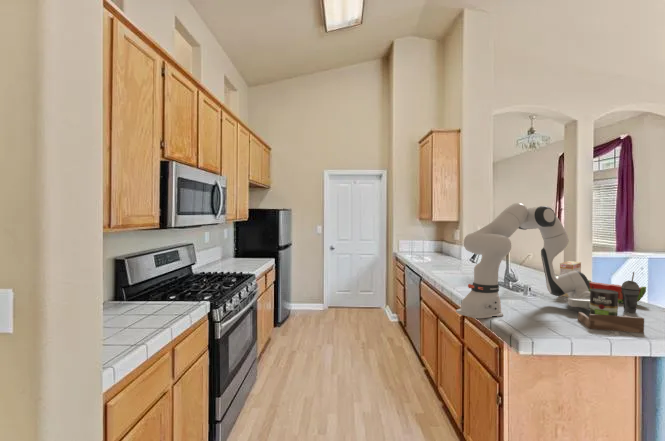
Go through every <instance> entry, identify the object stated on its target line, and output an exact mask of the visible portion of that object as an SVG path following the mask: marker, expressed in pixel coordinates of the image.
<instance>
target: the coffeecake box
mask: <svg viewBox="0 0 665 441" xmlns="http://www.w3.org/2000/svg"><path fill="white" fill-rule="evenodd" d="M575 270H577V271H579V272H581V273H582V262H581V261H575V260H574V261H573V260H568V261H564V262H560V263H559V275H562V274H565V273H568V272H571V271H575ZM565 296H566V297H565ZM560 297H565V298H568V297H569V296H568V293H566V294H564V295H561V296H560Z"/></svg>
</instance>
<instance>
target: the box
mask: <svg viewBox="0 0 665 441" xmlns="http://www.w3.org/2000/svg"><path fill="white" fill-rule="evenodd" d="M577 312H578V314H577V320H578V321H579V322H581V323H582V324H583V325H585V326H586V327H587V328H589V330H600V331H612V332H613V331H614V332H626V333H638V334H639V333H641V334H644V333H645V318H644V317H641V316H640V317H639V316H629V315H628V314H623V315H617V316H613V315H599V314H590V313H589V314H588V315H587V314H585V313H584V312H582V311H577Z"/></svg>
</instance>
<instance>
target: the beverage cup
mask: <svg viewBox="0 0 665 441" xmlns="http://www.w3.org/2000/svg"><path fill="white" fill-rule="evenodd" d="M634 277H635V271H633V272H632V276H631V280H626V281H624V282H622V284H621V286H622V287H621V289H622V295H623V303H622V304H623V305H622V306H623V307H622V308H623V312H625V313H627V312H629V313H628V314H636V313H637V307H638V302H637V300H638V294H639V290H640V289H639V287H640V286H639V284H638V283H637V282H635V281H634Z"/></svg>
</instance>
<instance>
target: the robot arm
mask: <svg viewBox="0 0 665 441" xmlns="http://www.w3.org/2000/svg"><path fill="white" fill-rule="evenodd" d="M518 229H519V230H523V231H526V230H536V229H538V230H539V233H540V235H541V237H542V238H541V239H543V247H542V248H541V250H540V256H541V261H542V266H543V271H544V276H545V284H546V288H547V291H548V292H549V293H550V294H551V295H552V296H556V297H562V296H561V295H564V294H566V293H568V296H569V297H566V298H564V300H563V301H565V302H567V305H568V306H569V307H572V308H581V309H583V310H588V311H590V292H589V291H588V290H589V289H590V284H589V281H588V280H589V279H588V278H587V276H586V275H585V274H584V273H583V272H582V271H581V272H579V271H577V270H575V271H571V272H568V273H565V274H562V275H560V274H559V275H557V276H556V274H555V269H554V265H553V261H554V260H555V258H556V257H557V256H558V255H559V254H561V253H562V252H563V251H564V250H565V249H566V248H567V247H568V245H569V242H570V241H569V236H568V234H567V231H566V228H565V226H564V225H563V223H562V222H561V220H560V219H559V217H558V216H557V215H556V213H555V211H554V210H553V209H552V208H551V207H550V206H546V205H541V206H537V207H528V208H527V206H526V205H524V204H523V203H519V202H515V203H512V204H511V205H509V206H508V207H507V208H504V210H502V211H501V213H499V214H498V215H497V216H496V217H495V219H493V220H492V221H491V222H489V223H488V224H486V225H485V226H483V227H482V228H480V229H478V230H476V231H473V232H471V233H469V234H467V235H465V237H464V239H463V247H464V249H465V251H467V252H470V253H471V254H473V255H474V254H475V255H480V256H481V260H480V261H479V263H477V264H475V266H474V268H473V282H472V284H470V283H469V284H468V283H467V288H468V289H471V290H470V292H468V293H467V295H466V296H465V297H463V298H462V300H461V304H460V305H461V306H460V308H458V309H455V312H456V313H457V314H459V315H461V316H465V317H468V318H473V319H474V318H475V319H479V320H480V319H485V318H487V319H488V318H493V317H492V316H497V317H504V312H502V304H501V297H500V295H499V291H500V284H499V271H500V270H499V269H500V265H501V263H502V262H503V259H504V258H505V257H506V256H508V255H509V254H510V252H511V249H512V241H511V240H510V237H512V236H513V235H514V233H516V231H517V230H518Z"/></svg>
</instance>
